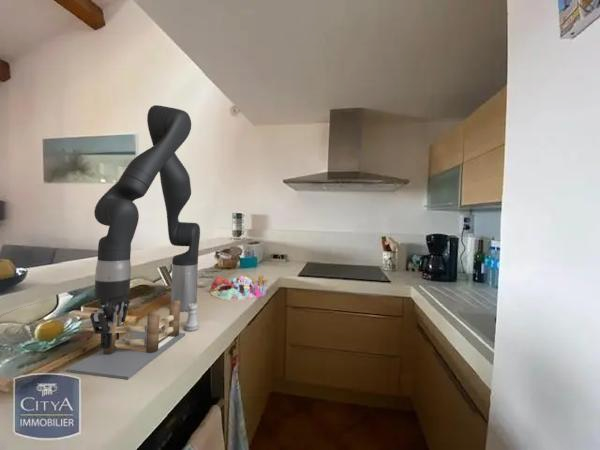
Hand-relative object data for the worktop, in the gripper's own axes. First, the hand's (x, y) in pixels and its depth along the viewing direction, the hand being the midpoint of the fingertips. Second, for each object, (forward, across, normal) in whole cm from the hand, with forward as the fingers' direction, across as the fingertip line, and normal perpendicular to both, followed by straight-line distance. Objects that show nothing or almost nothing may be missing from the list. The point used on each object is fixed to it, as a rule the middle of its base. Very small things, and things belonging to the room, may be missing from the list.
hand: (109, 344), depth 72 cm
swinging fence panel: (+2, 0, -3) cm, 4 cm away
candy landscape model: (+2, +60, -26) cm, 66 cm away
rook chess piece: (+2, +17, -16) cm, 23 cm away
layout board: (+3, +2, -5) cm, 6 cm away
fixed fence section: (+2, +6, -11) cm, 13 cm away
